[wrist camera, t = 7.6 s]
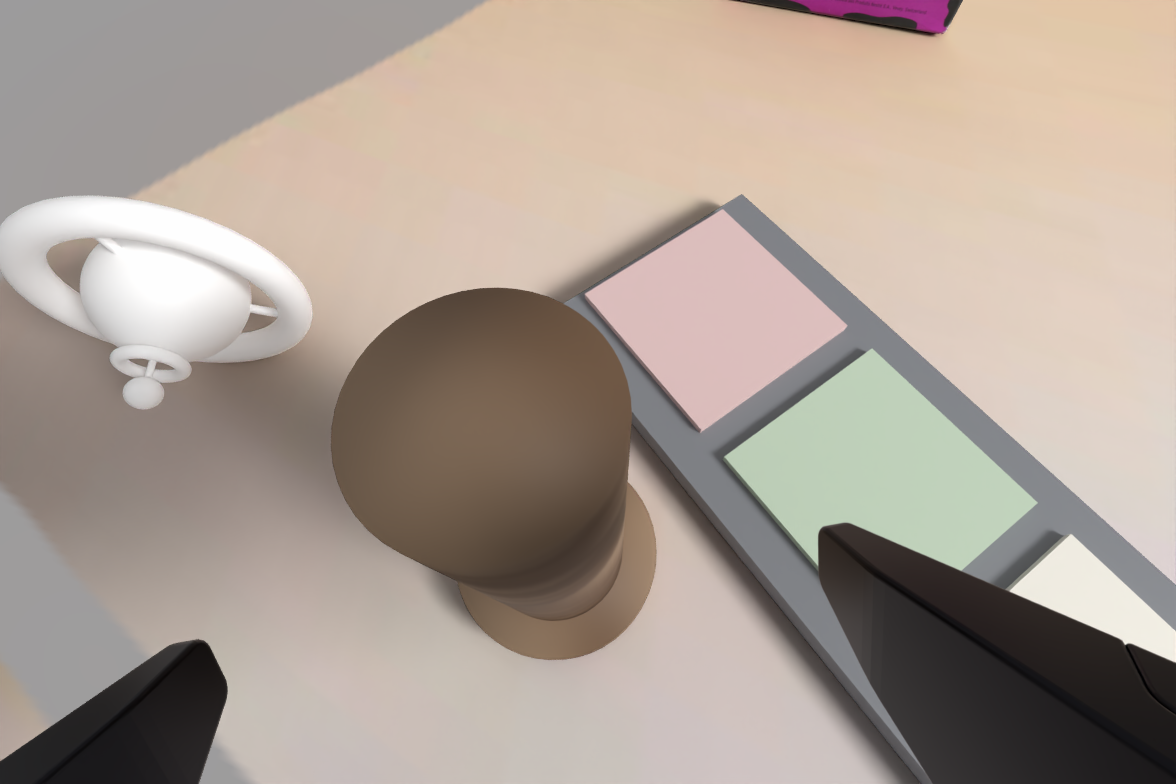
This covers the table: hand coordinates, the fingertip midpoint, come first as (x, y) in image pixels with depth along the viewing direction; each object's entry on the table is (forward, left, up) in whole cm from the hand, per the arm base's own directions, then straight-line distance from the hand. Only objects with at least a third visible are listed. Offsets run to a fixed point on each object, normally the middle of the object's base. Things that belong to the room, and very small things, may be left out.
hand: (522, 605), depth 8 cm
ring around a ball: (-5, +14, -10) cm, 18 cm away
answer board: (+10, -2, -10) cm, 14 cm away
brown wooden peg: (+1, +2, -10) cm, 10 cm away
